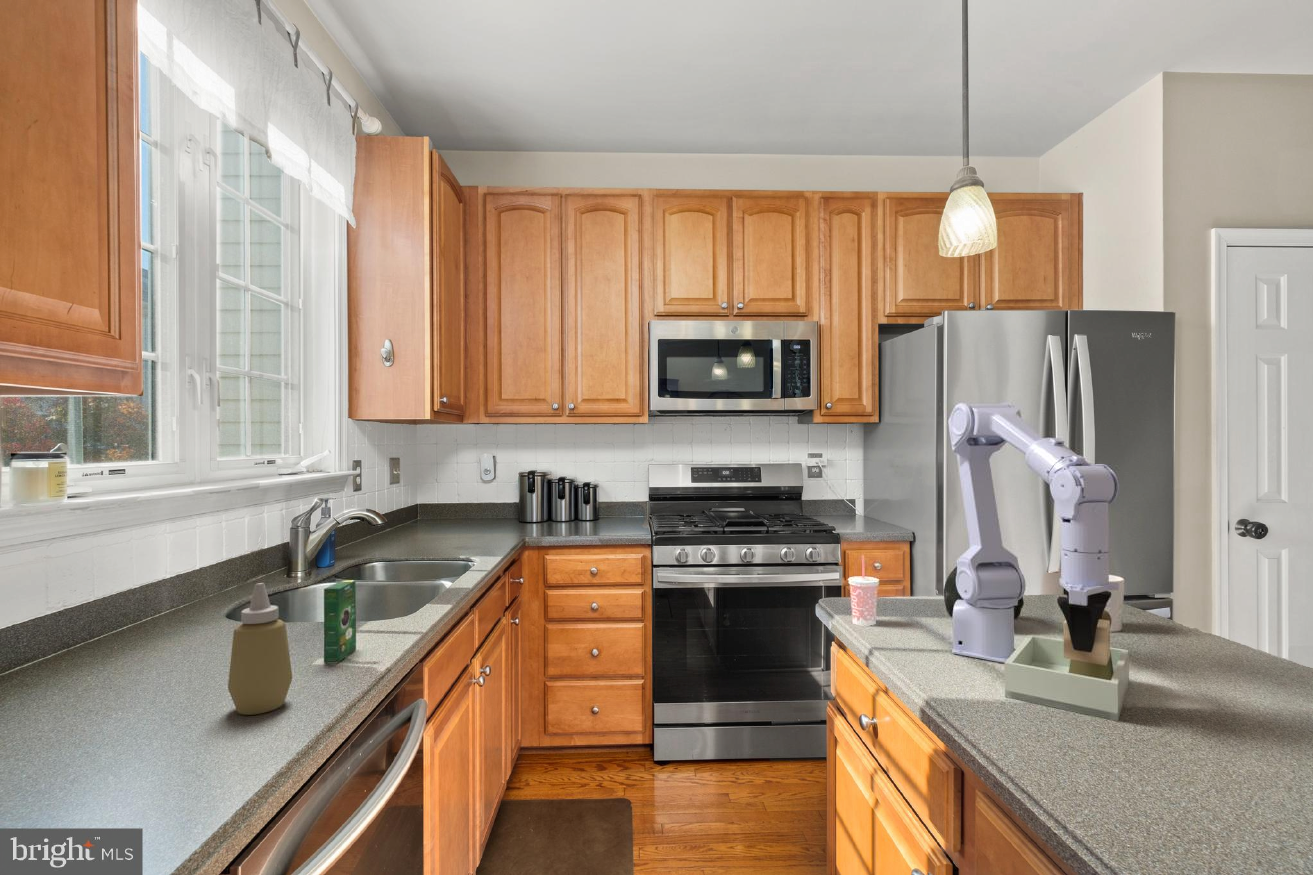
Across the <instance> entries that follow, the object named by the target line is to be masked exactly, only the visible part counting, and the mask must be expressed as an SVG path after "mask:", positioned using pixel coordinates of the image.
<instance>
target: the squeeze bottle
mask: <svg viewBox="0 0 1313 875" xmlns="http://www.w3.org/2000/svg"><path fill="white" fill-rule="evenodd" d="M240 617H241V618H240V620H241V624H240V625H238V626H237V627H236V628H234V629H233V636H232V645H231V653H230V663H229V672H228V683H227V690H228V692H229V695H230V697H231V700H232V703H233V705H234V707H235V709H236V712H237V713H238V714H240V713H241V714H240V715H249V716H250V715H259V714H264V713H268V712H272V711H274V710H277V709H279V708H280V707H282V706H283V705H284V704H285V702H286V698H287V695H288V693H289V689H290V686H291V683H292V680H293V673H292V672H293V671H292V663H291V656H290V648H289V638H288V631H287V625H286V623H285V622H284V621H283V620H282V619H278V618H279V606H278V605H274V604H273V605H272V604H271V603H270V599H269V596H268V591H267V587H266V585H265V583H264V582H259V583H255V584H254V587H253V592H252V597H251V601H250V605H249V607H248V608H244V609H243V610H241V613H240Z"/></svg>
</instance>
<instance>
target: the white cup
mask: <svg viewBox="0 0 1313 875" xmlns="http://www.w3.org/2000/svg"><path fill="white" fill-rule="evenodd" d="M1109 582H1112V583H1118V584H1119V590H1108V591H1109V592H1111V597H1110V599H1109V600H1108V602H1107V604H1106V607H1105V609H1104V610H1106V611H1107V612H1108V613H1109V614H1110V616H1111V619H1112V622H1111V627H1110V633H1116V632H1120V631H1121V630H1122V627H1123V625H1122V623H1123V618H1122V617H1123V612H1124V597H1125V596H1124V595H1125V594H1124V592H1125V579H1124V578H1123V577H1121V576H1118V575H1114V574H1113V575H1112V574H1109Z"/></svg>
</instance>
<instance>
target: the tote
mask: <svg viewBox="0 0 1313 875" xmlns="http://www.w3.org/2000/svg"><path fill="white" fill-rule="evenodd" d="M1015 649H1016V650H1015V651H1014V652H1013V654H1012V655H1011V656H1010V657H1009V658H1008V659H1007V661H1006V662H1005V663H1004V696H1005V698H1007V699H1008V698H1009V699H1013V700H1017V701H1022V702H1027V703H1032V704H1037V705H1041V706H1045V707H1051V708H1055V709H1059V710H1064V711H1069V712H1074V713H1078V714H1083V715H1086V716H1092V717H1097V718H1101V719H1104V720H1105V719H1107V720H1112V721H1115V722H1119V720H1120V716H1121V713H1122V709H1123V705H1124V702H1125V699H1126V695H1127V692H1128V688H1129V685H1130V666H1129V665H1130V663H1129V662H1130V660H1129V657H1130V654H1129V652H1130V651H1129V650H1128V649H1123V648H1117V647H1116V648H1115V647H1111V646H1110V652H1111V658H1112V664H1113V671H1114V674H1113V676H1112V679H1111V681H1110V680H1105V679H1099V678H1094V677H1088V676H1083V675H1077V674H1072V673H1069V666H1070V659H1067V658H1064V639H1059V638H1052V637H1047V636H1040V635H1034V634H1028V635H1027V636H1026V637H1025V638H1024V640H1022V642H1021V643H1020V644H1019V645H1018V646H1017V648H1015Z"/></svg>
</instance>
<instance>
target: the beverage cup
mask: <svg viewBox="0 0 1313 875" xmlns="http://www.w3.org/2000/svg"><path fill="white" fill-rule="evenodd" d="M861 565H862V567H861V569H862V571H861V572H862V573H861V574H862V576H861V575H860V576H858V575H857V576H856V575H855V576H850V577H848V579H847V581H848V584H849V589H850V590H849V591H850V592H849V593H850V594H849V595H850V604H851V617H852V620H851V621H852V624H854V625H857V626H861V627H862V626H863V627H871V626H870V625H872V626H874V625H873V624H875V625H876V624H877V606H878V605H877V604H878V602H877V601H878V586H879V584H880V579H879V578H877V577H872V576H866V574H865V572H866V570H865V554H862V555H861Z"/></svg>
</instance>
